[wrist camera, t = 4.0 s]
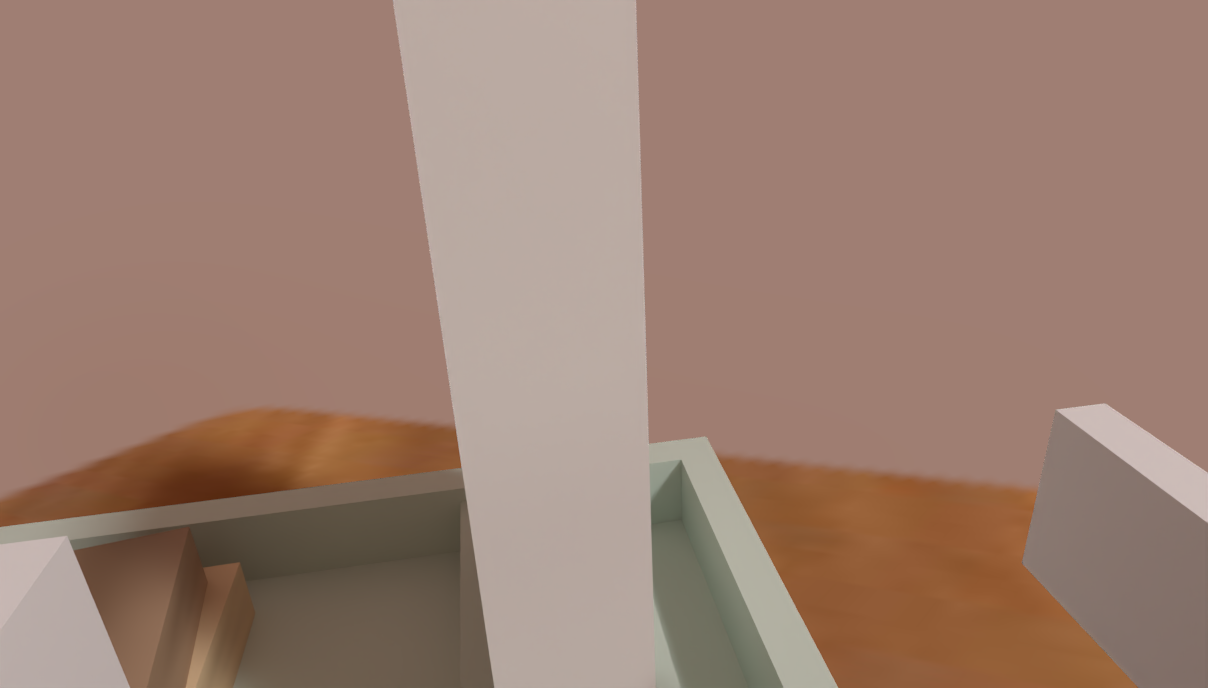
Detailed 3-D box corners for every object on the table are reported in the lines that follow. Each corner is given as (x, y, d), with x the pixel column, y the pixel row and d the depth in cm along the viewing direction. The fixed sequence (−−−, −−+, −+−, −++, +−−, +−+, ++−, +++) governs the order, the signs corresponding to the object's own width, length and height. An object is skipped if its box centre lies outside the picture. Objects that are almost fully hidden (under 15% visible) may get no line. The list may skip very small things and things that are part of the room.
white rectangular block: (522, 883, 17) (384, -59, 10) (503, 592, 25) (419, -46, 18) (660, 857, 18) (633, -71, 10) (598, 578, 26) (556, -52, 18)
